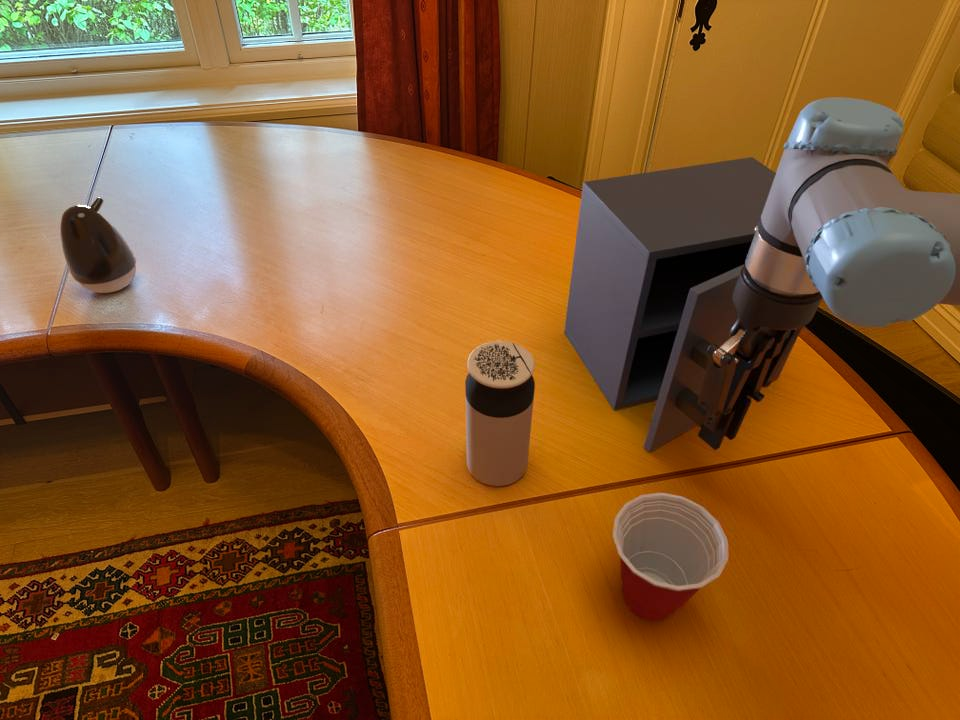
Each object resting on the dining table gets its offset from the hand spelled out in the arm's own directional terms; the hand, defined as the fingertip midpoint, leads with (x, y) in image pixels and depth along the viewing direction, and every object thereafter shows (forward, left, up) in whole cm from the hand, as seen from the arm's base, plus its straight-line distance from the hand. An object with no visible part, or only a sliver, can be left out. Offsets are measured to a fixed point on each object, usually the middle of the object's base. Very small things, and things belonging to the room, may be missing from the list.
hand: (716, 436), depth 73 cm
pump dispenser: (+68, +77, -8) cm, 103 cm away
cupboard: (+22, -8, -8) cm, 25 cm away
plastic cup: (-12, +14, -8) cm, 20 cm away
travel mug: (+10, +24, -8) cm, 27 cm away
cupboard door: (+6, -9, -7) cm, 13 cm away
